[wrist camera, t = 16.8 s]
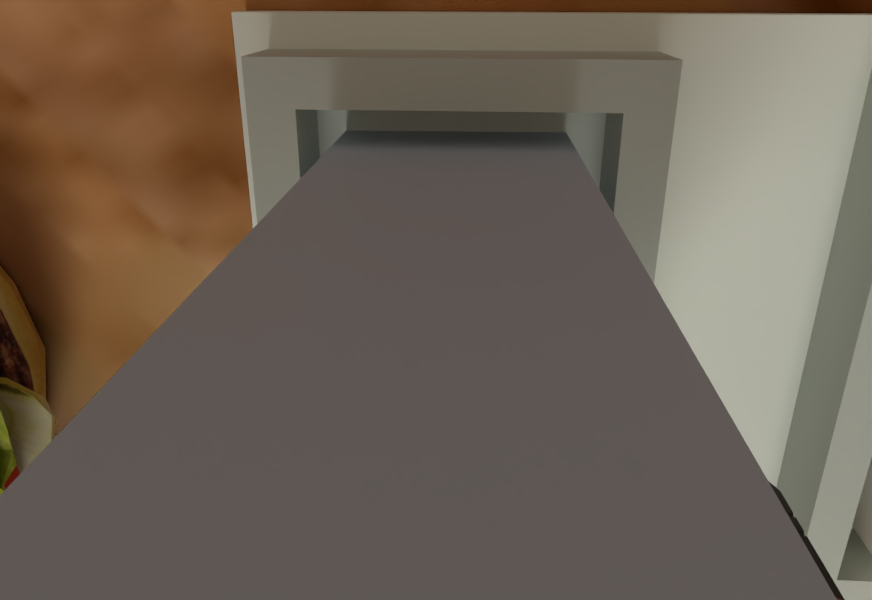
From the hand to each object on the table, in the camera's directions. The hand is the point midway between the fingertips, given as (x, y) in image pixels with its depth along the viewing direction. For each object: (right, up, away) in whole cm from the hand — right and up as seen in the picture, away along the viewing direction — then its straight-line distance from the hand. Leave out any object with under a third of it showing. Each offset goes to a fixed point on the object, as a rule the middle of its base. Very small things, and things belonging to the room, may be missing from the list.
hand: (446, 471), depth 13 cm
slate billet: (0, +2, +5) cm, 6 cm away
